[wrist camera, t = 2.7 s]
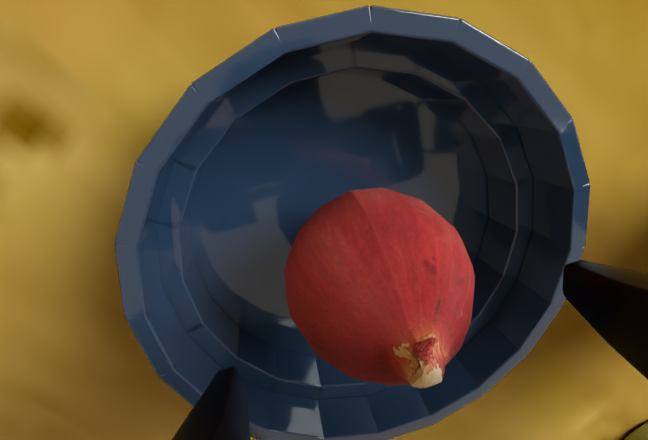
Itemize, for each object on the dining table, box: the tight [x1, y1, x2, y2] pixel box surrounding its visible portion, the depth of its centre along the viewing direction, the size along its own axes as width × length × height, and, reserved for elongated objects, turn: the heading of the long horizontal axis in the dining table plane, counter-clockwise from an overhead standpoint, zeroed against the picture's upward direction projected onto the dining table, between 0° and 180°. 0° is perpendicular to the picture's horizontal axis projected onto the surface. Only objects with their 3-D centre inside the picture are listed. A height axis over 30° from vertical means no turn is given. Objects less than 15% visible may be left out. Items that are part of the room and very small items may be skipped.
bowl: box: [115, 5, 590, 440], centre depth 13 cm, size 15×15×4 cm
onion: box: [284, 187, 475, 388], centre depth 11 cm, size 6×6×8 cm
